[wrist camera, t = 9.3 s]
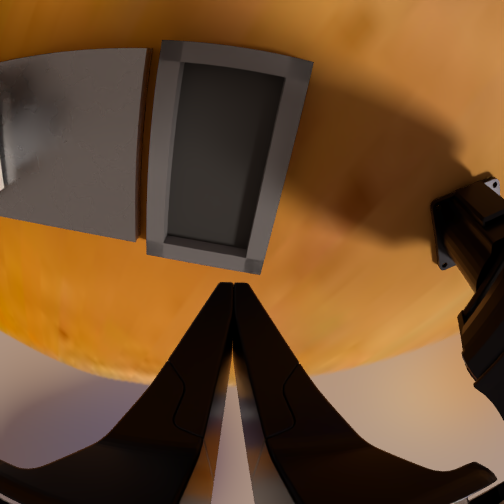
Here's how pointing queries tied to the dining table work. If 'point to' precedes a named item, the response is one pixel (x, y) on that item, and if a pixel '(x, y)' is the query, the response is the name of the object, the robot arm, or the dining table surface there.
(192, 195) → the tray
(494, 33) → the dining table surface
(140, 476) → the robot arm
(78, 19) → the dining table surface
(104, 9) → the dining table surface
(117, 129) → the grey long flat panel
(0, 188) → the sled
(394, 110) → the dining table surface
